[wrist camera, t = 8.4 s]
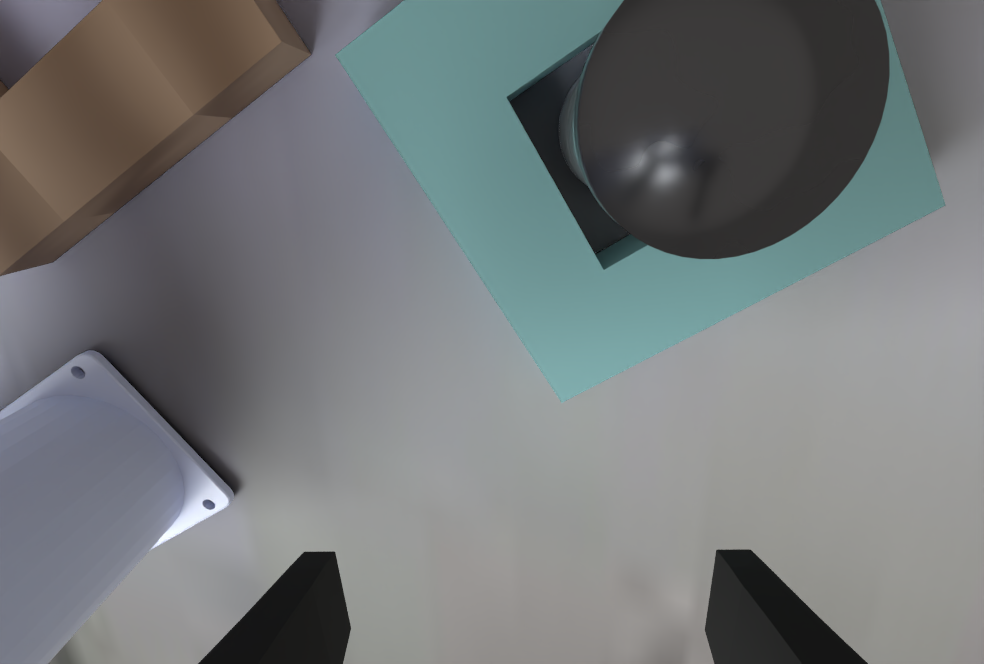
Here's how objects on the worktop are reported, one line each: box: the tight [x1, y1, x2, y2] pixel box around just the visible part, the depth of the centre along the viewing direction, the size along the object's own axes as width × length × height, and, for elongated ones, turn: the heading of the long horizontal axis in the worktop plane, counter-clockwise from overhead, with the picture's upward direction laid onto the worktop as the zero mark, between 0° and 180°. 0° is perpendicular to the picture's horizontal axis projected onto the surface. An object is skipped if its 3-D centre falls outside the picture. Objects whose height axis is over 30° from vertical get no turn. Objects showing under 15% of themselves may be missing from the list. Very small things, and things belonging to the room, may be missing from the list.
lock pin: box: [558, 0, 890, 259], centre depth 11 cm, size 5×5×8 cm
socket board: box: [336, 0, 945, 402], centre depth 14 cm, size 12×12×2 cm
